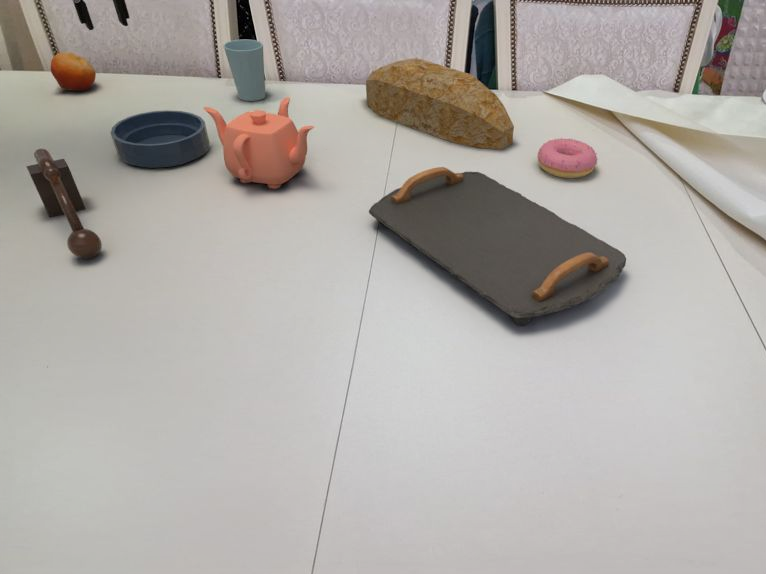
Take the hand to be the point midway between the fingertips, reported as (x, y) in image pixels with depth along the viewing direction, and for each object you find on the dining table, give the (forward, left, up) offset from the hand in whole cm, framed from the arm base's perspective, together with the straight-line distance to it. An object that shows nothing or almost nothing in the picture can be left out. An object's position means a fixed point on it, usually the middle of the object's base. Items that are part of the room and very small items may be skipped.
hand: (106, 24), depth 101 cm
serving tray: (+52, -49, -20) cm, 74 cm away
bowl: (+4, -6, -20) cm, 21 cm away
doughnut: (+74, -26, -20) cm, 81 cm away
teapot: (+22, -18, -20) cm, 35 cm away
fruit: (-15, +29, -20) cm, 38 cm away
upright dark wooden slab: (-9, -24, -20) cm, 32 cm away
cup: (+20, +19, -20) cm, 34 cm away
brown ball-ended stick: (-7, -31, -20) cm, 37 cm away
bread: (+56, -1, -20) cm, 59 cm away
